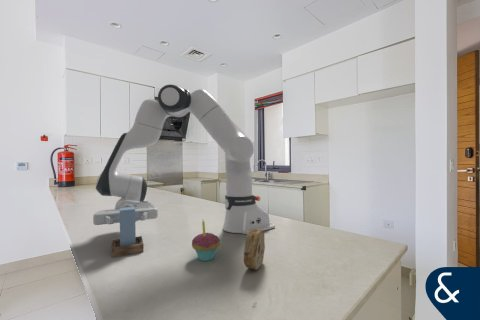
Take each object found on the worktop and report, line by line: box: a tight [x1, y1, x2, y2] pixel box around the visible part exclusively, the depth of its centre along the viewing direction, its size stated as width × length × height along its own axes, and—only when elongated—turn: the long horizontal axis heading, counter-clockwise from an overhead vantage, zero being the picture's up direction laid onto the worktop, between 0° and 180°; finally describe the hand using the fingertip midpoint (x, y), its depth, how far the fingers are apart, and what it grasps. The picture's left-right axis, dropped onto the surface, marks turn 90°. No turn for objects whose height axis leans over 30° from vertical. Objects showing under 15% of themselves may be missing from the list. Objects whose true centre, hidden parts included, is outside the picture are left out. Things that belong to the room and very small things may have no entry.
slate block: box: [119, 207, 137, 247], centre depth 77 cm, size 4×4×12 cm
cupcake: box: [191, 220, 221, 262], centre depth 70 cm, size 9×8×12 cm
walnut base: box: [110, 235, 144, 258], centre depth 77 cm, size 9×9×2 cm
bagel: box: [243, 229, 266, 271], centre depth 64 cm, size 10×4×10 cm, turn 157°
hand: (127, 219), depth 77 cm, fingers open, 8 cm apart
